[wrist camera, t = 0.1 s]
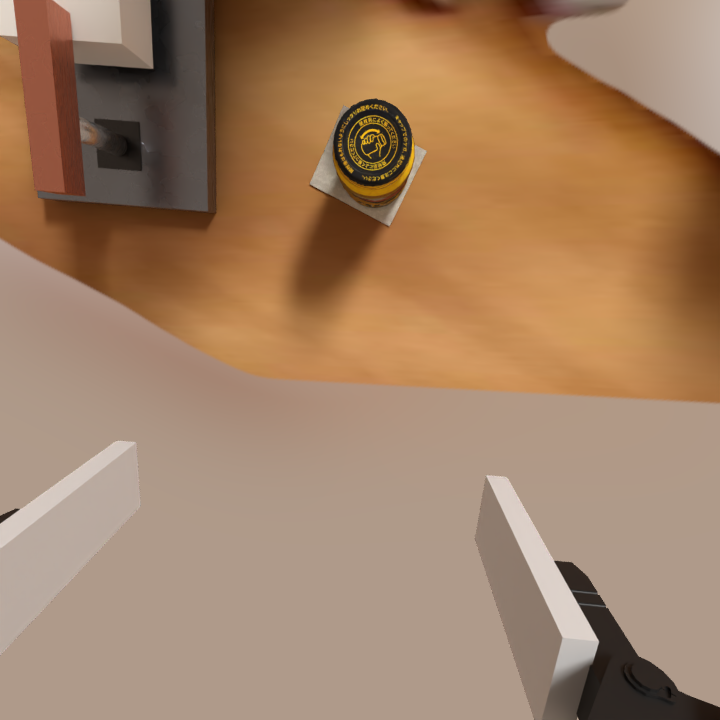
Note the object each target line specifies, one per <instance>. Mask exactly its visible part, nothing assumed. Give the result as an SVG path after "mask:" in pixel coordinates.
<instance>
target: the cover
mask: <svg viewBox="0 0 720 720" xmlns="http://www.w3.org/2000/svg"><path fill="white" fill-rule="evenodd" d="M53 1H55V2H56V3H57V4H58V5H60V6H61V7H62V8H64V9H65V10H66V11H68V12H69V13H70V18H71V30H72V41H73V53H74V63H77V64H91V65H105V66H119V67H133V68H147V69H153V52H152V28H151V5H150V0H53ZM0 36H1V37H3V38H5V39H7V40H8V41H10V42H12V43H14V44H15V45H17V46H18V37H17V29H16V20H15V11H14V3H13V0H0Z"/></svg>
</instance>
